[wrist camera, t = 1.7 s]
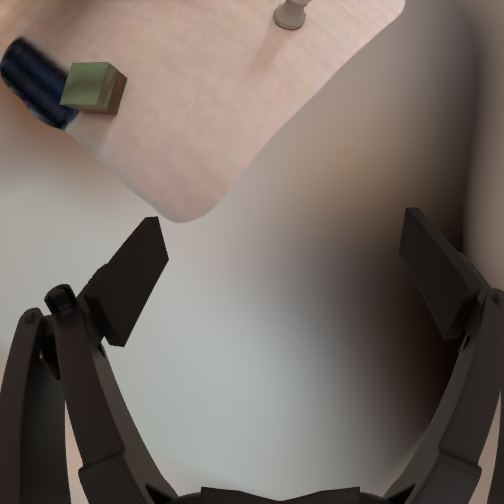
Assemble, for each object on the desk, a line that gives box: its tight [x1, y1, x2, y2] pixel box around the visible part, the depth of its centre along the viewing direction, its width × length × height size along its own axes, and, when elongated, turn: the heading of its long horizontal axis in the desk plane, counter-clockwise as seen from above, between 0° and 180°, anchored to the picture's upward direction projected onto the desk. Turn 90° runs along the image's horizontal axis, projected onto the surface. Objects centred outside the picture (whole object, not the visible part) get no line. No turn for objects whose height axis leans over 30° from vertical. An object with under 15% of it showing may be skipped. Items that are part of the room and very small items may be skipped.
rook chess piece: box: [274, 0, 311, 29], centre depth 27 cm, size 4×4×8 cm
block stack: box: [60, 62, 127, 115], centre depth 28 cm, size 6×6×7 cm
